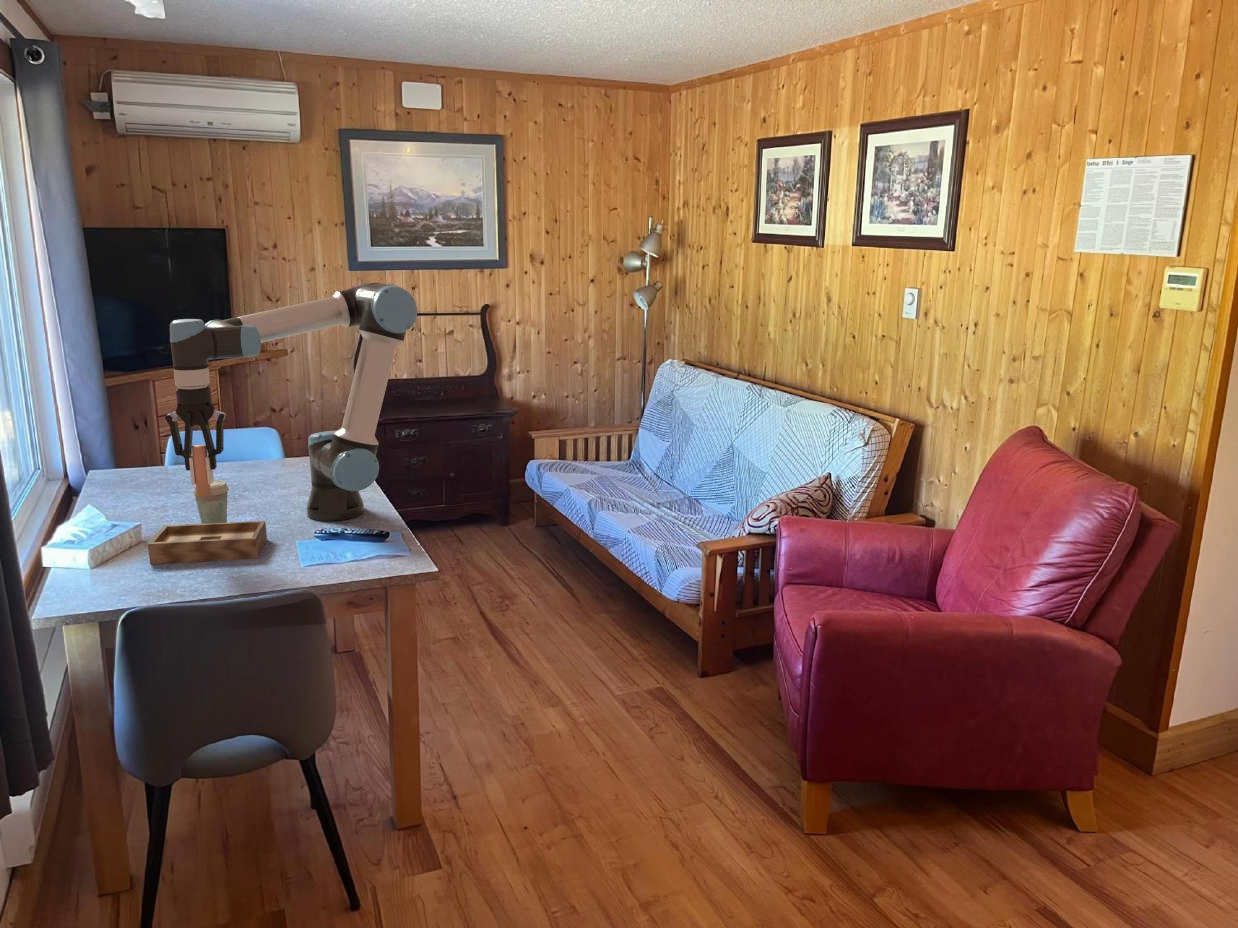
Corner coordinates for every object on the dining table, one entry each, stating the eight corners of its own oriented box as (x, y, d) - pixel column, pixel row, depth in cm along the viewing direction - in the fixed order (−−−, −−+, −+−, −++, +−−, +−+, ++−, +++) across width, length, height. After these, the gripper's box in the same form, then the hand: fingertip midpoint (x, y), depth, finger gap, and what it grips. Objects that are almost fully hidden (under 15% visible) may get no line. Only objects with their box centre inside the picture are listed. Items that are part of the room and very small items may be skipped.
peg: (209, 496, 228) (204, 447, 225) (195, 496, 228) (190, 447, 225) (212, 492, 231) (207, 444, 228) (198, 493, 231) (193, 444, 228)
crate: (267, 539, 242) (265, 520, 241) (257, 558, 229) (255, 538, 227) (166, 544, 238) (163, 525, 236) (150, 564, 224) (147, 544, 223)
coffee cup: (194, 534, 246) (190, 489, 242) (199, 524, 253) (194, 480, 250) (230, 531, 248) (225, 487, 245) (234, 521, 256) (229, 478, 253)
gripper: (232, 382, 228) (241, 477, 234) (160, 384, 225) (171, 480, 231) (225, 388, 221) (234, 485, 226) (151, 389, 218) (162, 488, 224)
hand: (202, 482), depth 229 cm, fingers closed on peg, 3 cm apart
